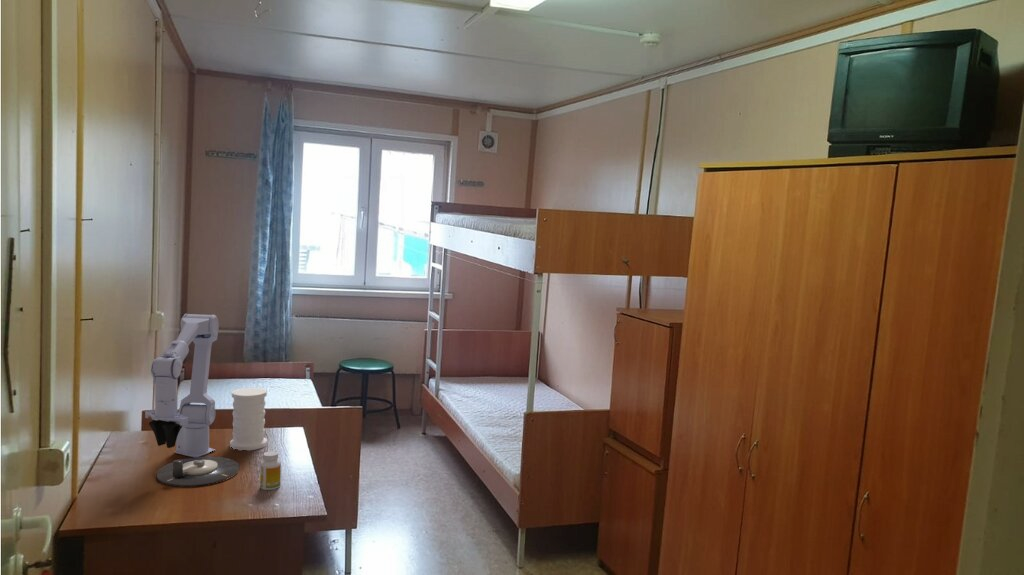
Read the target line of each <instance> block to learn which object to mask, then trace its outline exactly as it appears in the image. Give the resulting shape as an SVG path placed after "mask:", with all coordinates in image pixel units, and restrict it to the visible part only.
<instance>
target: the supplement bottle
mask: <svg viewBox="0 0 1024 575" xmlns="http://www.w3.org/2000/svg"><path fill="white" fill-rule="evenodd" d="M262 458H263V460H261V462H260V472H259V473H260V475H259V476H260V478H259V479H260V480H259V481H260V482H259V484H260V489H262V490H266V491H273V490H277V489H279V488H280V487H281V477H282V476H281V470H282V469H281V468H282V467H281V466H282V465H281V464H282V463H281V461H280V459H279V452H277V451H271V450H270V451H265V452H264V453H263V456H262Z"/></svg>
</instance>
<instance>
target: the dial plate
mask: <svg viewBox="0 0 1024 575" xmlns="http://www.w3.org/2000/svg"><path fill="white" fill-rule="evenodd" d="M182 460H183V464H184V463H187V462H190V461H195V460H212V461H215V462H217V464H218V465H217V469H216V470H215V471H213V472H211V473H207V474H202V475H186V474H183V476H181V477H173V461H172V462H169V463H167V464H165V465H163V466H162V467H161V468H158V470H157V473H156V478H157V480H158V482H160V483H161V484H164V485H166V484H167V485H168V486H171V485H173V486H172V487H178V486H183V487H182V488H191V487H192V488H194V486H196V487H204V486H203V485H205V486H209V485H208V484H211V485H214V484H213V483H215V484H217V483H216V482H219V483H221V482H220V481H222V482H224V481H223V480H225V481H227V480H226V479H227V478H229V477H231V476H233V475H235V474H236V473H237V472H238V471H239V472H240V464H239V462H237V461H236V460H235V459H231V458H228V457H222V456H199V457H189V458H184V459H183V458H182ZM239 472H238V473H239ZM238 473H237V474H238ZM237 474H236V475H237ZM236 475H235V476H236Z"/></svg>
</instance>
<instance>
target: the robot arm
mask: <svg viewBox="0 0 1024 575" xmlns="http://www.w3.org/2000/svg"><path fill="white" fill-rule="evenodd" d="M219 325H220V322H219V319H218V316H217V315H216V314H199V313H198V314H196V313H195V314H194V313H190V314H189V313H184V315H183V316H182V317H181V319H180V332H179V334H178V336H177V338H176V340H172V341H171V342H170V343H169V344H168V346H167V347H166V349H165V350H164V352H163V353H162V354H161V356H160V357H157V358H155V359H153V361H152V362H151V366H150V367H151V368H150V374H151V376H152V383H153V385H154V406H155V408H154V410H153V409H148V410H146V411H144V413H145V414H144V415H145V416H144V418H145V419H152V420H151V421H149V422H148V425H149V427H150V428H151V430H152V432H153V434H154V437H155V440H156V443H157V446H158V447H160V446H164V445H165V446H166V448H167V449H171V448H174V447H176V448H175V449H176V450H173V453H174V454H179V455H182V456H187V457H189V458H194V457H203V456H205V455H207V454H211V453H213V452H215V451H216V449H215V448H212V447H210V425H212V423H214V421H215V418H216V402H215V399H213V397H211V396H210V395H208V383H209V373H210V363H211V353H212V345H213V343H214V342H215V341H217V340H218V334H219V327H220V326H219ZM192 342H193V344H194V350H193V360H192V361H193V362H192V370H191V371H192V372H191V377H190V378H191V379H190V387H189V388H190V389H189V394H188V395H187V396H185V397H183V398H182V399H181V400H180V405H179V408H178V402H179V401H178V378H179V377H180V375H181V373H182V369H183V362H184V361H185V359H186V357H187V356H188V355H189V352H190V349H189V346H190V345H191V343H192ZM214 450H215V451H214ZM212 451H213V452H212ZM210 452H211V453H210Z"/></svg>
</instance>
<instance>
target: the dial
mask: <svg viewBox="0 0 1024 575" xmlns="http://www.w3.org/2000/svg"><path fill="white" fill-rule="evenodd" d="M172 462H173V477H181V476H183V474H186V475H202V474H207V473H211V472H213V471H215V470H216V469H217V465H218V464H217V462H215V461H212V460H195V461H190V462H187V463H184V464H183V459H174V460H173V461H172Z"/></svg>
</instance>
